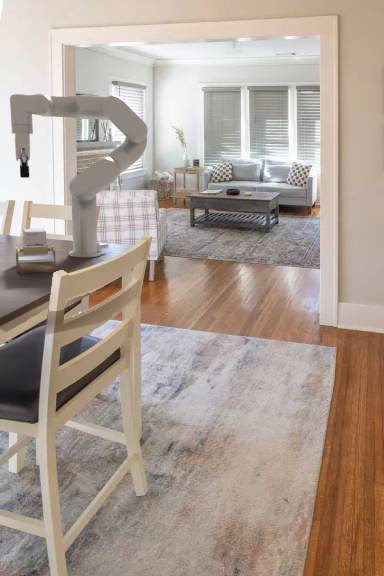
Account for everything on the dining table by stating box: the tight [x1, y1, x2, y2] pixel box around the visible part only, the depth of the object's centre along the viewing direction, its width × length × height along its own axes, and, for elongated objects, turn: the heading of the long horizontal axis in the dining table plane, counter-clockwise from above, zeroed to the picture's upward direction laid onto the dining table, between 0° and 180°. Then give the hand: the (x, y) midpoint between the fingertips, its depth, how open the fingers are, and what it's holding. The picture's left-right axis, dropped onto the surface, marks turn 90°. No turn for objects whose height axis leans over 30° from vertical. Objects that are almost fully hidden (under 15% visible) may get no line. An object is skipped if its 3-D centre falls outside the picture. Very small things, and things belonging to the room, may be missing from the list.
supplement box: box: [22, 228, 48, 246], centre depth 202 cm, size 7×7×13 cm
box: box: [15, 244, 57, 274], centre depth 203 cm, size 13×13×7 cm
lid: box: [18, 245, 55, 263], centre depth 190 cm, size 13×11×3 cm
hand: (24, 176), depth 217 cm, fingers open, 9 cm apart
